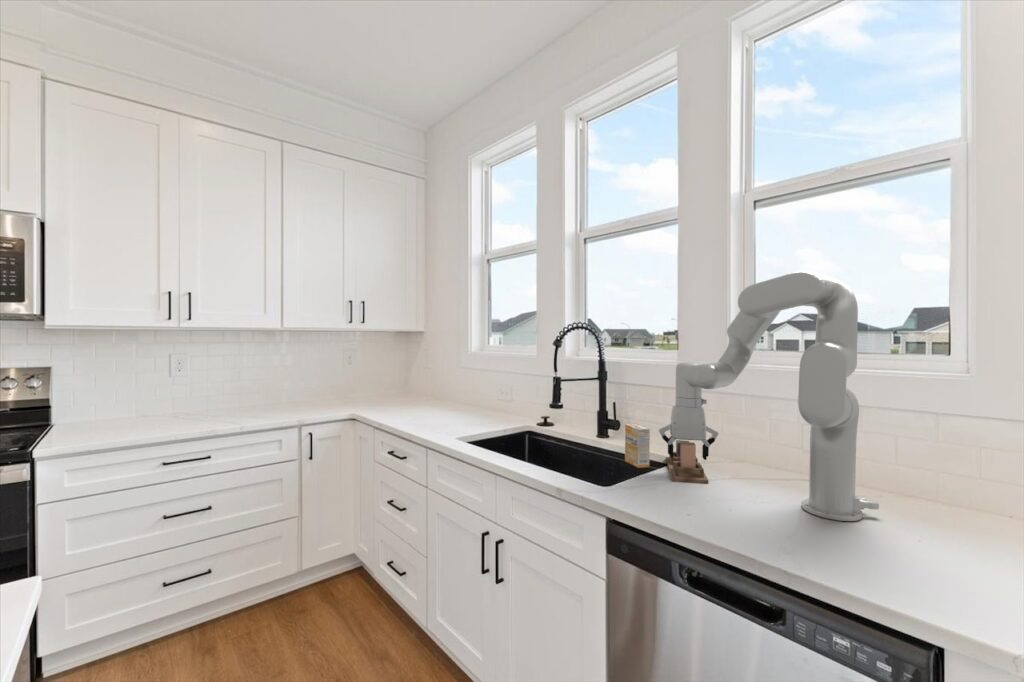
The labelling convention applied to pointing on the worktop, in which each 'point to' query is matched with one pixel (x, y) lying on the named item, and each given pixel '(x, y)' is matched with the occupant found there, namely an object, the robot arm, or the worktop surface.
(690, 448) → the terracotta plug
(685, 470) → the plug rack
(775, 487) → the worktop surface
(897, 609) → the worktop surface
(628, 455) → the supplement box
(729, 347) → the robot arm
